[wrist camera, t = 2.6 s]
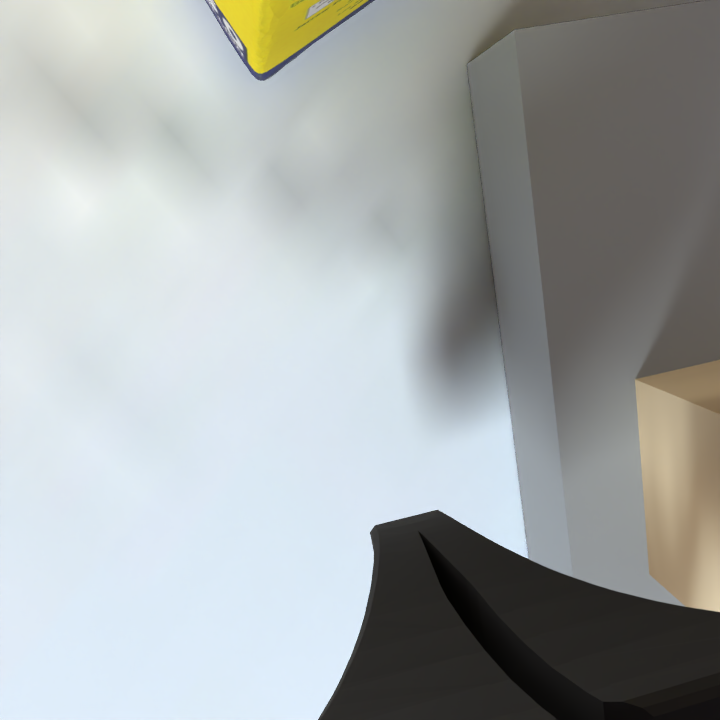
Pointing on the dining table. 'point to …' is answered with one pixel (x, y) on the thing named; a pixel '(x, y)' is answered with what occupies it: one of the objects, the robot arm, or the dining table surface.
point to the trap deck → (599, 259)
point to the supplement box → (278, 28)
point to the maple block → (682, 480)
